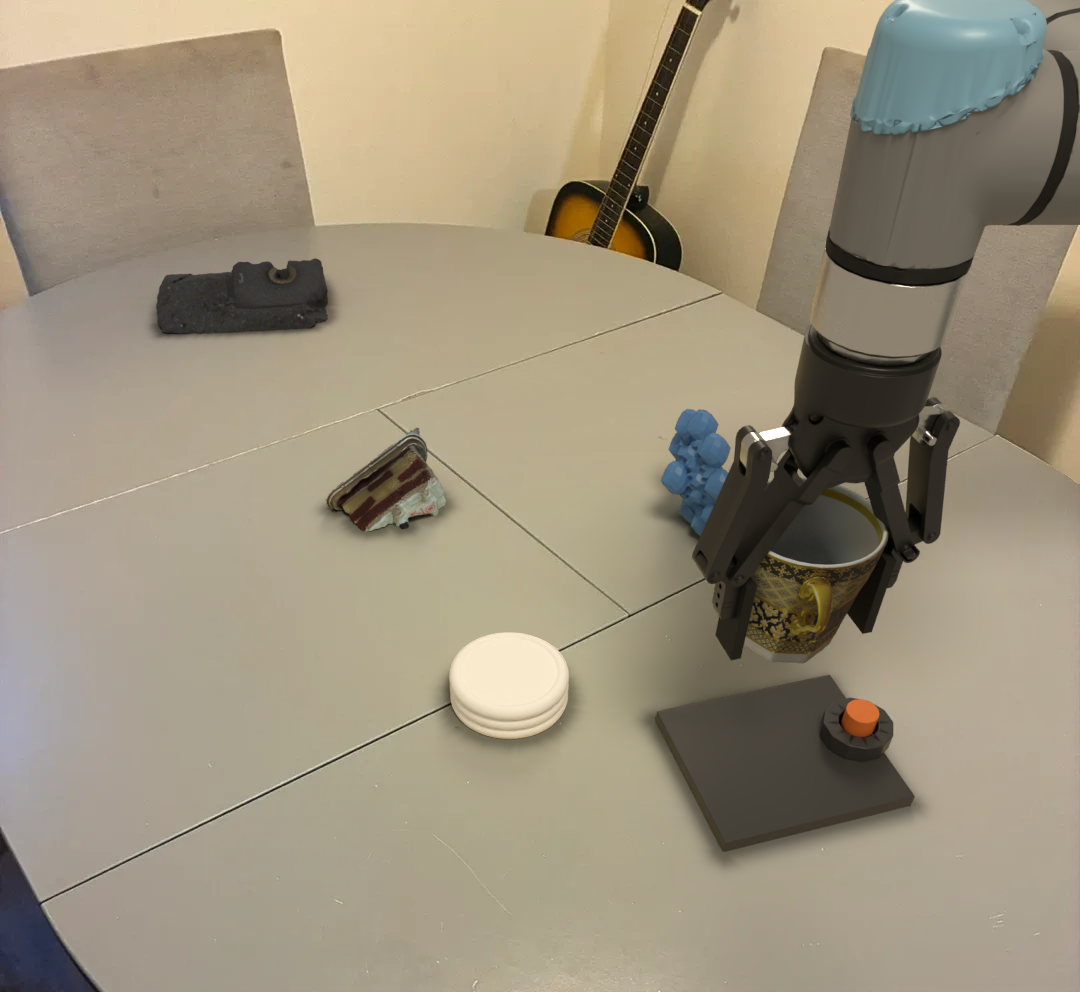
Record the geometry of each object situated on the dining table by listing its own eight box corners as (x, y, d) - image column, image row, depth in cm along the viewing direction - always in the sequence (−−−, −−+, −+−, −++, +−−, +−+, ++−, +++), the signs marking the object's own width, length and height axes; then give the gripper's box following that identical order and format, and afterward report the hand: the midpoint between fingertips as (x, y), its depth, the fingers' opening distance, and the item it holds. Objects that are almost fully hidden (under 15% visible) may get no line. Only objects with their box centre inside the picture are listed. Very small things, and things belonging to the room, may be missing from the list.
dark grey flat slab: (839, 682, 90) (847, 658, 88) (924, 804, 81) (935, 779, 79) (654, 722, 86) (658, 697, 84) (722, 854, 77) (728, 830, 75)
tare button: (863, 711, 84) (869, 696, 83) (880, 733, 82) (885, 718, 81) (835, 717, 84) (840, 702, 82) (851, 740, 82) (856, 725, 81)
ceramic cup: (708, 586, 79) (728, 473, 71) (839, 591, 78) (873, 479, 71) (723, 709, 70) (748, 594, 62) (870, 715, 70) (913, 601, 62)
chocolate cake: (353, 553, 102) (433, 466, 98) (318, 503, 104) (395, 415, 100) (408, 569, 110) (484, 489, 106) (374, 522, 112) (448, 442, 108)
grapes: (632, 498, 108) (643, 394, 100) (691, 487, 110) (707, 384, 101) (677, 564, 101) (693, 458, 92) (739, 552, 102) (761, 446, 94)
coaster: (440, 734, 85) (437, 705, 82) (462, 652, 92) (461, 623, 89) (560, 748, 84) (561, 719, 82) (574, 664, 91) (575, 635, 88)
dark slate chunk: (164, 285, 140) (155, 250, 136) (328, 277, 143) (324, 242, 139) (154, 339, 130) (144, 302, 126) (330, 329, 132) (325, 293, 129)
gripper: (1008, 282, 62) (903, 575, 78) (663, 325, 57) (629, 627, 73) (1087, 340, 57) (958, 639, 73) (717, 393, 52) (668, 700, 69)
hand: (793, 633), depth 73 cm, fingers closed on ceramic cup, 9 cm apart
